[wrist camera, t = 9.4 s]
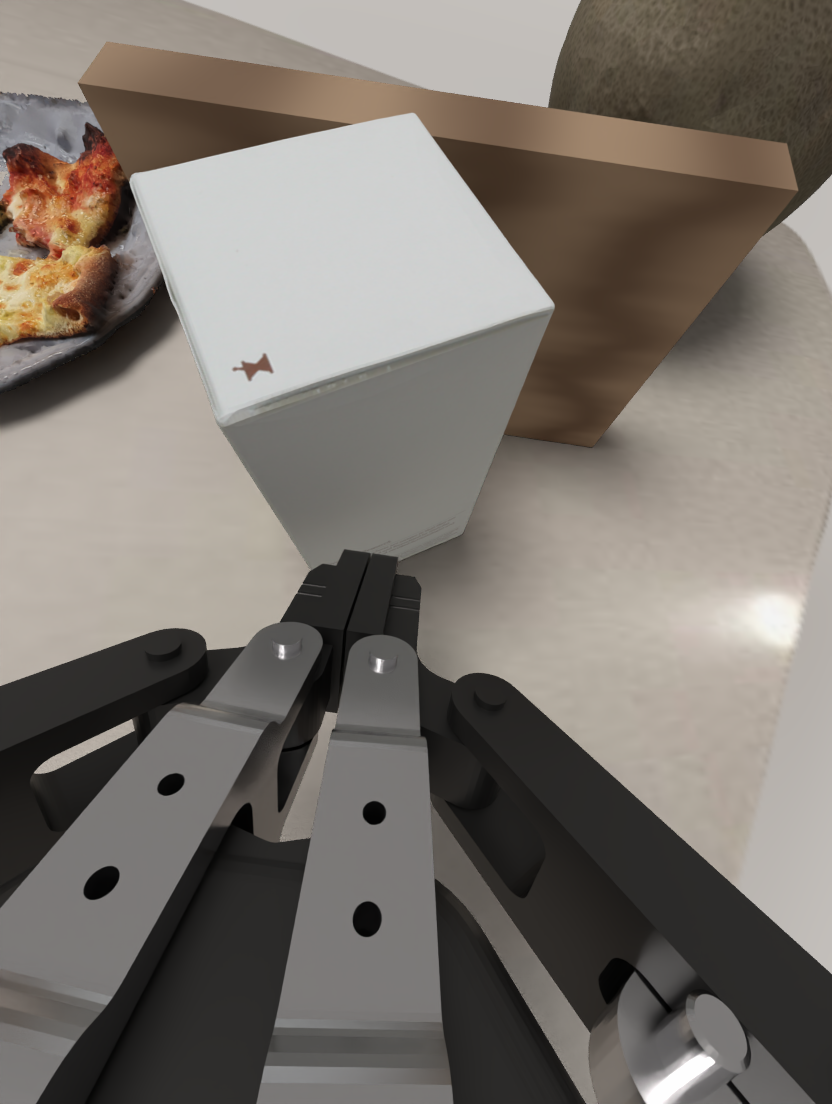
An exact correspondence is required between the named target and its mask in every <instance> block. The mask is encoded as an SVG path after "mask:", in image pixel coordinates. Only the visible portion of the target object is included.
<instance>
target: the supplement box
mask: <svg viewBox="0 0 832 1104" xmlns="http://www.w3.org/2000/svg"><path fill="white" fill-rule="evenodd" d="M129 183H130V187H131V190H132V192H133V195H134V198H135V200H136V203H137V206H138V209H139V211H140V214H141V217H142V219H143V222H144V225H145V227H146V230H147V233H148V236H149V238H150V241H151V244H152V246H153V249H154V252H155V255H156V257H157V260H158V263H159V266H160V268H161V271H162V274H163V277H164V280H165V283H166V287H167V290H168V293H169V296H170V299H171V301H172V303H173V306H174V308H175V310H176V312H177V314H178V316H179V319H180V322H181V324H182V327H183V330H184V333H185V335H186V338H187V341H188V343H189V346H190V349H191V352H192V354H193V357H194V360H195V363H196V366H197V369H198V371H199V374H200V377H201V380H202V382H203V385H204V388H205V390H206V393H207V396H208V399H209V402H210V405H211V407H212V410H213V413H214V416H215V419H216V422H217V424H218V426H219V427H220V429H221V430H222V432H223V434H224V435H225V437H226V438H227V440H228V441H229V443H230V444H231V446H232V447H233V449H234V451H235V452H236V454H237V455H238V457H239V459H240V460H241V462H242V463H243V465H244V466H245V468H246V470H247V471H248V473H249V474H250V476H251V477H252V479H253V480H254V482H255V484H256V485H257V487H258V488H259V490H260V491H261V493H262V495H263V496H264V498H265V499H266V501H267V502H268V504H269V505H270V507H271V509H272V510H273V512H274V513H275V515H276V516H277V518H278V519H279V521H280V522H281V524H282V525H283V527H284V529H285V530H286V532H287V533H288V535H289V537H290V538H291V540H292V541H293V543H294V544H295V546H296V547H297V549H298V550H299V552H300V554H301V555H302V557H303V558H304V560H305V561H306V563H307V564H308V566H309V567H310V569H311V570H313V569H314V568H316V567H318V566H319V565H321V564H329V565H337V563H338V561H339V559H340V557H341V555H342V553H343V551H344V549H347V550H354V551H361V552H368V553H371V556H372V553H375V554H382V555H389V556H395V557H398V561H401V560H403V559H405V558H408V557H410V556H412V555H415V554H417V553H419V552H422V551H424V550H427V549H429V548H431V547H434V546H436V545H438V544H441V543H443V542H446V541H448V540H450V539H452V538H455V537H457V536H460V535H461V534H463V532H464V530H465V528H466V525H467V522H468V520H469V518H470V515H471V513H472V511H473V508H474V505H475V503H476V500H477V498H478V496H479V493H480V490H481V488H482V485H483V483H484V480H485V478H486V476H487V473H488V470H489V468H490V466H491V463H492V461H493V458H494V456H495V453H496V451H497V448H498V446H499V444H500V441H501V439H502V436H503V434H504V431H505V429H506V426H507V424H508V421H509V419H510V416H511V414H512V411H513V409H514V407H515V404H516V401H517V399H518V396H519V394H520V391H521V389H522V387H523V384H524V382H525V379H526V377H527V374H528V372H529V369H530V367H531V364H532V362H533V360H534V357H535V354H536V352H537V349H538V347H539V344H540V342H541V340H542V337H543V335H544V332H545V330H546V328H547V325H548V323H549V320H550V318H551V316H552V314H553V311H554V308H555V305H554V303H553V301H552V300H551V298H550V297H549V296H548V294H547V293H546V292H545V290H544V289H543V288H542V286H541V285H540V283H539V282H538V281H537V280H536V278H535V277H534V276H533V274H532V273H531V272H530V271H529V269H528V268H527V266H526V265H525V264H524V262H523V261H522V259H521V258H520V257H519V256H518V254H517V253H516V252H515V250H514V249H513V248H512V246H511V245H510V244H509V242H508V241H507V239H506V238H505V237H504V235H503V234H502V233H501V231H500V230H499V228H498V227H497V226H496V224H495V223H494V221H493V220H492V219H491V217H490V216H489V215H488V213H487V212H486V210H485V209H484V208H483V206H482V205H481V204H480V202H479V201H478V199H477V198H476V197H475V195H474V194H473V193H472V191H471V190H470V188H469V187H468V186H467V184H466V183H465V182H464V180H463V179H462V178H461V176H460V175H459V173H458V172H457V171H456V169H455V168H454V167H453V165H452V164H451V162H450V161H449V160H448V158H447V157H446V155H445V154H444V153H443V151H442V150H441V149H440V147H439V146H438V144H437V143H436V142H435V140H434V139H433V137H432V136H431V135H430V133H429V132H428V131H427V129H426V128H425V126H424V125H423V123H422V122H421V121H420V119H419V118H418V116H417V115H416V114H415V113H408V114H403V115H397V116H392V117H387V118H381V119H376V120H372V121H367V122H362V123H357V124H353V125H348V126H344V127H339V128H335V129H330V130H326V131H321V132H316V133H311V134H307V135H302V136H297V137H293V138H288V139H283V140H279V141H275V142H271V143H267V144H262V145H258V146H254V147H249V148H245V149H241V150H237V151H232V152H228V153H223V154H219V155H215V156H210V157H206V158H202V159H198V160H194V161H190V162H186V163H181V164H177V165H173V166H168V167H164V168H160V169H155V170H151V171H146V172H139V173H134V174H133V175H131V178H130V182H129Z"/></svg>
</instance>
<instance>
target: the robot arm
mask: <svg viewBox="0 0 832 1104" xmlns="http://www.w3.org/2000/svg"><path fill="white" fill-rule="evenodd" d="M397 565H398V557H395V556H389V555H382V554H375V553H372V556H371V553H368V552H361V551H354V550H347V549H344V551H343V553H342V555H341V557H340V559H339V561H338V563H337V565H329V564H321V565H319V566H318V567H316V568H314V569H313V570H311V571H310V572H309V573H308V575H307V577H306V578H305V580H304V582H303V585H301V587H300V589H299V590H298V593H297V594H296V595H295V597H294V599H293V600H292V602H291V604H290V606H289V607H288V609H287V611H286V612H285V614H284V616H283V618H282V619H281V621H280V623H276V624H273V625H270V626H267V627H265V628H264V629H262V630H260V631H259V632H258V633H257V634H256V635H255V636H254V637H253V638H252V640H251V641H250V642H249V643H248V645H247V646H245V647H239V648H230V649H217V650H207V647H206V642H205V639H204V638H203V637H202V636H201V635H200V634H199V633H197V632H195V631H192V630H188V629H179V628H173V629H163V630H159V631H155V632H152V633H148V634H146V635H143V636H140V637H137V638H134V639H132V640H129V641H126V642H123V643H120V644H118V645H115V646H112V647H109V648H106V649H103V650H101V651H98V652H95V653H92V654H89V655H87V656H84V657H81V658H78V659H75V660H73V661H70V662H67V663H64V664H61V665H59V666H56V667H53V668H50V669H47V670H45V671H42V672H39V673H36V674H33V675H31V676H28V677H25V678H22V679H19V680H16V681H14V682H11V683H8V684H5V685H2V686H0V1104H586V1103H585V1101H584V1100H583V1098H582V1096H581V1095H580V1093H579V1091H578V1090H577V1088H576V1086H575V1085H574V1083H573V1081H572V1080H571V1078H570V1076H569V1075H568V1073H567V1071H566V1069H565V1068H564V1066H563V1064H562V1063H561V1061H560V1059H559V1058H558V1056H557V1054H556V1053H555V1051H554V1049H553V1048H552V1046H551V1044H550V1043H549V1041H548V1039H547V1038H546V1036H545V1034H544V1033H543V1031H542V1029H541V1027H540V1026H539V1024H538V1022H537V1021H536V1019H535V1017H534V1016H533V1014H532V1012H531V1011H530V1009H529V1007H528V1006H527V1004H526V1002H525V1001H524V999H523V997H522V996H521V994H520V992H519V991H518V989H517V987H516V985H515V984H514V982H513V980H512V979H511V977H510V975H509V974H508V972H507V970H506V969H505V967H504V965H503V964H502V962H501V960H500V959H499V957H498V955H497V954H496V952H495V950H494V949H493V947H492V945H491V944H490V942H489V940H488V938H487V937H486V935H485V934H484V932H483V930H482V929H481V927H480V926H479V924H478V923H477V921H476V920H475V919H474V917H473V916H472V915H471V913H470V912H469V911H468V910H467V908H466V907H465V906H464V905H463V904H462V903H461V902H460V901H459V899H458V898H457V897H456V896H455V895H454V894H453V893H452V892H451V891H450V890H448V889H447V888H446V887H445V886H444V885H442V884H441V883H440V882H439V881H438V880H436V879H434V863H433V844H432V825H431V806H430V799H431V801H432V804H433V806H434V808H435V809H436V811H437V812H438V814H439V815H440V817H441V818H442V820H443V821H444V822H445V824H446V825H447V827H448V828H449V830H450V831H451V833H452V834H453V835H454V837H455V838H456V840H457V841H458V843H459V844H460V846H461V847H462V848H463V850H464V851H465V853H466V854H467V856H468V857H469V859H470V860H471V861H472V863H473V864H474V866H475V867H476V869H477V870H478V872H479V873H480V874H481V876H482V877H483V879H484V880H485V882H486V883H487V885H488V886H489V887H490V889H491V890H492V892H493V893H494V895H495V896H496V898H497V899H498V900H499V902H500V903H501V905H502V906H503V908H504V909H505V911H506V912H507V913H508V915H509V916H510V918H511V919H512V921H513V922H514V924H515V925H516V926H517V928H518V929H519V931H520V932H521V934H522V935H523V937H524V938H525V939H526V941H527V942H528V944H529V945H530V947H531V948H532V950H533V951H534V952H535V954H536V955H537V957H538V958H539V960H540V961H541V963H542V964H543V965H544V967H545V968H546V970H547V971H548V973H549V974H550V976H551V977H552V978H553V980H554V981H555V983H556V984H557V986H558V987H559V989H560V990H561V991H562V993H563V994H564V996H565V997H566V999H567V1000H568V1002H569V1003H570V1004H571V1006H572V1007H573V1009H574V1010H575V1012H576V1013H577V1015H578V1016H579V1017H580V1019H581V1020H582V1022H583V1023H584V1025H585V1026H586V1028H587V1029H588V1030H589V1032H590V1033H591V1034H590V1040H589V1068H590V1075H591V1080H592V1084H593V1089H594V1092H595V1095H596V1098H597V1102H598V1104H832V974H831V973H830V972H829V971H828V970H826V969H825V968H824V967H823V966H822V965H821V964H820V963H819V962H818V961H817V960H815V959H814V958H813V957H812V956H811V955H810V954H809V953H808V952H807V951H805V950H804V949H803V948H802V947H801V946H800V945H799V944H798V943H797V942H796V941H794V940H793V939H792V938H791V937H790V936H789V935H788V934H787V933H785V932H784V931H783V930H782V929H781V928H780V927H779V926H778V925H777V924H775V923H774V922H773V921H772V920H771V919H770V918H769V917H768V916H767V915H766V914H765V913H763V912H762V911H761V910H760V909H759V908H758V907H757V906H756V905H755V904H754V903H752V902H751V901H750V900H749V899H748V898H747V897H746V896H745V895H744V894H742V893H741V892H740V891H739V890H738V889H737V888H736V887H735V886H734V885H733V884H731V883H730V882H729V881H728V880H727V879H726V878H725V877H724V876H723V875H721V874H720V873H719V872H718V871H717V870H716V869H715V868H714V867H713V866H712V865H710V864H709V863H708V862H707V861H706V860H705V859H704V858H703V857H702V856H700V855H699V854H698V853H697V852H696V851H695V850H694V849H693V848H692V847H691V846H689V845H688V844H687V843H686V842H685V841H684V840H683V839H682V838H681V837H679V836H678V835H677V834H676V833H675V832H674V831H673V830H672V829H671V828H670V827H668V826H667V825H666V824H665V823H664V822H663V821H662V820H661V819H660V818H658V817H657V816H656V815H655V814H654V813H653V812H652V811H651V810H650V809H649V808H647V807H646V806H645V805H644V804H643V803H642V802H641V801H640V800H639V799H637V798H636V797H635V796H634V795H633V794H632V793H631V792H630V791H629V790H628V789H626V788H625V787H624V786H623V785H622V784H621V783H620V782H619V781H618V780H616V779H615V778H614V777H613V776H612V775H611V774H610V773H609V772H608V771H607V770H605V769H604V768H603V767H602V766H601V765H600V764H599V763H598V762H597V761H595V760H594V759H593V758H592V757H591V756H590V755H589V754H588V753H587V752H586V751H584V750H583V749H582V748H581V747H580V746H579V745H578V744H577V743H576V742H574V741H573V740H572V739H571V738H570V737H569V736H568V735H567V734H566V733H565V732H563V731H562V730H561V729H560V728H559V727H558V726H557V725H556V724H555V723H553V722H552V721H551V720H550V719H549V718H548V717H547V716H546V715H545V714H544V713H542V712H541V711H540V710H539V709H538V708H537V707H536V706H535V705H534V704H532V703H531V702H530V701H529V700H528V699H527V698H526V697H525V696H524V695H523V694H521V693H520V692H519V691H518V690H517V689H516V688H515V687H514V686H512V685H511V684H510V683H508V682H507V681H505V680H503V679H501V678H499V677H497V676H494V675H490V674H485V673H472V674H468V675H465V676H463V677H461V678H460V679H458V680H457V681H456V683H453V682H451V681H448V680H446V679H443V678H441V677H439V676H437V675H435V674H434V673H432V672H431V671H429V670H428V669H427V668H426V667H425V666H424V665H423V664H422V663H421V661H420V660H419V658H418V655H417V636H418V624H419V610H420V599H421V587H420V585H419V583H418V582H417V580H416V579H415V577H411V576H404V575H397V574H396V573H397ZM338 708H339V710H338ZM325 711H326V712H333V713H337V712H338V715H337V721H336V726H335V729H333V730H332V733H331V737H330V742H329V747H328V752H327V757H326V762H325V767H324V773H323V778H322V783H321V788H320V793H319V799H318V804H317V809H316V814H315V819H314V825H313V830H312V835H311V838H308V839H301V840H294V841H286V842H279V841H280V837H281V833H282V829H283V826H284V823H285V821H286V818H287V816H288V813H289V811H290V808H291V806H292V803H293V801H294V799H295V796H296V794H297V791H298V789H299V786H300V784H301V781H302V779H303V776H304V774H305V771H306V769H307V766H308V764H309V762H310V759H311V757H312V754H313V752H314V749H315V747H316V744H317V741H318V731H319V729H320V727H321V724H322V721H323V718H324V714H325ZM130 719H132V720H133V724H134V729H135V731H134V732H131V733H129V734H127V735H125V736H123V737H121V738H119V739H117V740H115V741H113V742H111V743H109V744H107V745H105V746H103V747H101V748H99V749H97V750H95V751H93V752H91V753H89V754H87V755H85V756H83V757H81V758H79V759H77V760H75V761H73V762H71V763H69V764H67V765H65V766H63V767H61V768H59V769H57V770H54V771H52V772H49V773H45V774H34V772H35V770H36V769H37V768H38V767H39V766H40V765H41V764H42V763H44V762H45V761H46V760H48V759H49V758H51V757H53V756H55V755H57V754H59V753H61V752H63V751H65V750H67V749H69V748H71V747H73V746H76V745H78V744H80V743H82V742H84V741H86V740H88V739H90V738H92V737H95V736H97V735H99V734H101V733H103V732H105V731H107V730H109V729H111V728H113V727H116V726H118V725H120V724H122V723H124V722H126V721H128V720H130Z"/></svg>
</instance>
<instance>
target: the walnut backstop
mask: <svg viewBox="0 0 832 1104" xmlns="http://www.w3.org/2000/svg"><path fill="white" fill-rule="evenodd" d="M78 84H79V86H80V88H81V90H82V92H83V94H84V96H85V98H86V100H87V102H88V104H89V106H90V108H91V110H92V111H93V113H94V115H95V117H96V119H97V121H98V123H99V125H100V127H101V129H102V131H103V133H104V135H105V137H106V138H107V140H108V142H109V144H110V146H111V148H112V150H113V152H114V154H115V156H116V158H117V160H118V162H119V164H120V166H121V167H122V169H123V171H124V173H125V175H126V177H127V179H128V181H129V182H130V178H131V175H133V174H134V173H139V172H146V171H151V170H155V169H160V168H164V167H168V166H173V165H177V164H181V163H186V162H190V161H194V160H198V159H202V158H206V157H210V156H215V155H219V154H223V153H228V152H232V151H237V150H241V149H245V148H249V147H254V146H258V145H262V144H267V143H271V142H275V141H279V140H283V139H288V138H293V137H297V136H302V135H307V134H311V133H316V132H321V131H326V130H330V129H335V128H339V127H344V126H348V125H353V124H357V123H362V122H367V121H372V120H376V119H381V118H387V117H392V116H397V115H403V114H408V113H415V114H416V115H417V116H418V118H419V119H420V121H421V122H422V123H423V125H424V126H425V128H426V129H427V131H428V132H429V133H430V135H431V136H432V137H433V139H434V140H435V142H436V143H437V144H438V146H439V147H440V149H441V150H442V151H443V153H444V154H445V155H446V157H447V158H448V160H449V161H450V162H451V164H452V165H453V167H454V168H455V169H456V171H457V172H458V173H459V175H460V176H461V178H462V179H463V180H464V182H465V183H466V184H467V186H468V187H469V188H470V190H471V191H472V193H473V194H474V195H475V197H476V198H477V199H478V201H479V202H480V204H481V205H482V206H483V208H484V209H485V210H486V212H487V213H488V215H489V216H490V217H491V219H492V220H493V221H494V223H495V224H496V226H497V227H498V228H499V230H500V231H501V233H502V234H503V235H504V237H505V238H506V239H507V241H508V242H509V244H510V245H511V246H512V248H513V249H514V250H515V252H516V253H517V254H518V256H519V257H520V258H521V259H522V261H523V262H524V264H525V265H526V266H527V268H528V269H529V271H530V272H531V273H532V274H533V276H534V277H535V278H536V280H537V281H538V282H539V283H540V285H541V286H542V288H543V289H544V290H545V292H546V293H547V294H548V296H549V297H550V298H551V300H552V301H553V303H554V305H555V308H554V311H553V314H552V316H551V318H550V320H549V323H548V325H547V328H546V330H545V332H544V335H543V337H542V340H541V342H540V344H539V347H538V349H537V352H536V354H535V357H534V360H533V362H532V364H531V367H530V369H529V372H528V374H527V377H526V379H525V382H524V384H523V387H522V389H521V391H520V394H519V396H518V399H517V401H516V404H515V407H514V409H513V411H512V414H511V416H510V419H509V421H508V424H507V426H506V429H505V431H504V434H505V435H512V436H519V437H525V438H532V439H539V440H546V441H552V442H559V443H566V444H573V445H579V446H586V447H593V446H594V445H595V444H596V442H597V441H598V440H599V439H600V437H601V436H602V435H603V434H604V432H605V431H606V430H607V429H608V427H609V426H610V425H611V424H612V422H613V421H614V420H615V419H616V417H617V416H618V415H619V414H620V412H621V411H622V410H623V409H624V407H625V406H626V405H627V404H628V402H629V401H630V400H631V399H632V397H633V396H634V395H635V394H636V393H637V391H638V390H639V389H640V388H641V386H642V385H643V384H644V383H645V381H646V380H647V379H648V378H649V376H650V375H651V374H652V373H653V371H654V370H655V369H656V368H657V366H658V365H659V364H660V363H661V361H662V360H663V359H664V358H665V356H666V355H667V354H668V353H669V351H670V350H671V349H672V348H673V346H674V345H675V344H676V343H677V341H678V340H679V339H680V338H681V336H682V335H683V334H684V333H685V331H686V330H687V329H688V328H689V326H690V325H691V324H692V323H693V322H694V320H695V319H696V318H697V317H698V315H699V314H700V313H701V312H702V310H703V309H704V308H705V307H706V305H707V304H708V303H709V302H710V300H711V299H712V298H713V297H714V295H715V294H716V293H717V292H718V290H719V289H720V288H721V287H722V285H723V284H724V283H725V282H726V280H727V279H728V278H729V277H730V275H731V274H732V273H733V272H734V270H735V269H736V268H737V267H738V265H739V264H740V263H741V262H742V260H743V259H744V258H745V257H746V255H747V254H748V253H749V252H750V251H751V249H752V248H753V247H754V246H755V244H756V243H757V242H758V241H759V239H760V238H761V237H762V236H763V234H764V233H765V232H766V231H767V229H768V228H769V227H770V226H771V224H772V223H773V222H774V221H775V219H776V218H777V217H778V216H779V214H780V213H781V212H782V211H783V209H784V208H785V207H786V206H787V204H788V203H789V202H790V201H791V199H792V198H793V197H794V196H795V194H796V193H797V192H798V187H797V183H796V179H795V175H794V171H793V167H792V163H791V158H790V154H789V150H788V146H787V143H780V142H773V141H766V140H760V139H753V138H746V137H740V136H733V135H726V134H720V133H713V132H706V131H700V130H693V129H686V128H680V127H673V126H666V125H660V124H653V123H646V122H640V121H633V120H626V119H620V118H613V117H606V116H600V115H593V114H586V113H580V112H573V111H566V110H560V109H553V108H546V107H540V106H533V105H526V104H520V103H513V102H506V101H499V100H493V99H485V98H480V97H472V96H466V95H459V94H453V93H446V92H440V91H433V90H426V89H419V88H413V87H406V86H399V85H393V84H386V83H379V82H373V81H366V80H359V79H353V78H346V77H339V76H333V75H326V74H319V73H313V72H306V71H299V70H293V69H286V68H279V67H273V66H266V65H259V64H253V63H246V62H239V61H233V60H226V59H219V58H213V57H206V56H199V55H193V54H186V53H179V52H173V51H166V50H159V49H153V48H146V47H139V46H133V45H126V44H119V43H113V42H106V44H105V45H104V46H103V48H102V49H101V51H100V52H99V53H98V55H97V56H96V58H95V59H94V61H93V62H92V63H91V65H90V66H89V68H88V69H87V71H86V72H85V73H84V75H83V76H82V78H81V79H80V80H79V82H78Z"/></svg>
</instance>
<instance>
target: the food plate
mask: <svg viewBox="0 0 832 1104" xmlns="http://www.w3.org/2000/svg"><path fill="white" fill-rule="evenodd" d="M27 95H28V94H27ZM28 96H29V97H26V96H25V95H24V94H23V93H21V95H20V94H19V95H18V96H17V94H16V93H12V94H11V93H9V92H7V94H6V93H2V92H0V165H1V167H0V171H3V172H5V171H8V173H9V174H10V177H7V176H6V175H7V174H6V175H5V177H4V180H3V181H2V183H3V185H2V186H1V185H0V394H1V393H3V392H5V391H9V390H11V389H16V386H21V385H22V384H25V383H28V382H29V381H30V380H32V378H37V377H39V376H41V374H44V373H46V372H47V371H51V370H52V369H53V370H54V369H56V367H59V366H62V365H63V363H65V364H66V363H67V362H68V361H70V360H71V361H74V360H75V357H77V356H78V357H81V355H82V354H84V355H86V354H87V353H88V351H91V350H92V351H93V349H95V350H96V348H97V347H98V346H102V344H104V343H105V340H106V339H108V338H109V337H111V335H112V334H114V333H115V330H118V328H119V327H120V326H123V325H125V324H127V323H128V322H129V321H131V319H133V318H136V316H140V315H141V314H140V313H141V312H142V311H143V310H145V305H148V304H149V301H150V299H152V296H153V294H155V292H156V291H155V289H157V290H158V286H161V284H162V283H163V281H164V277H163V274H162V271H161V268H160V266H159V263H158V260H157V257H156V255H155V252H154V249H153V246H152V244H151V241H150V238H149V236H148V233H147V230H146V227H145V225H144V222H143V219H142V217H141V214H140V211H139V209H138V206H137V203H136V200H135V198H134V195H133V192H132V190H131V187H130V183H129V181H128V179H127V177H126V175H125V173H124V171H123V169H122V167H121V166H120V164H119V162H118V160H117V158H116V156H115V154H114V152H113V150H112V148H111V146H110V144H109V142H108V140H107V138H106V137H105V135H104V133H103V131H102V129H101V127H100V125H99V123H98V121H97V119H96V117H95V115H94V113H93V111H92V110H91V108H90V106H89V104H88V102H84V103H81V102H79V101H78V100H75V101H74V100H73V99H72V100H73V101H71V100H70V99H69V100H66V99H62V98H60V99H59V98H58V99H57V98H55V97H54V98H55V99H53V98H51V97H48V98H49V99H48V98H47V97H43V96H41V95H40V96H38V95H32V94H31V95H28ZM5 163H6V164H5ZM2 166H3V167H2ZM6 166H7V167H8V168H5V167H6ZM43 256H48V257H47V258H46V259H43Z"/></svg>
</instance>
